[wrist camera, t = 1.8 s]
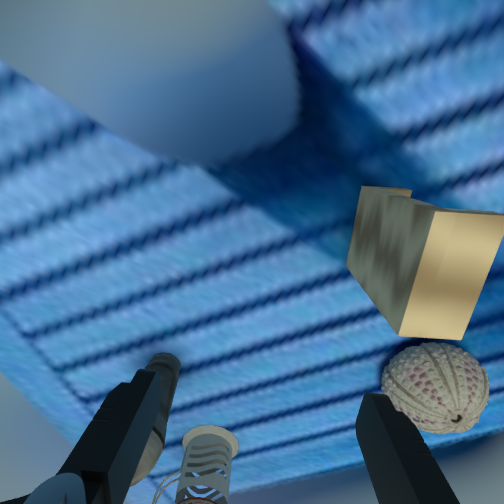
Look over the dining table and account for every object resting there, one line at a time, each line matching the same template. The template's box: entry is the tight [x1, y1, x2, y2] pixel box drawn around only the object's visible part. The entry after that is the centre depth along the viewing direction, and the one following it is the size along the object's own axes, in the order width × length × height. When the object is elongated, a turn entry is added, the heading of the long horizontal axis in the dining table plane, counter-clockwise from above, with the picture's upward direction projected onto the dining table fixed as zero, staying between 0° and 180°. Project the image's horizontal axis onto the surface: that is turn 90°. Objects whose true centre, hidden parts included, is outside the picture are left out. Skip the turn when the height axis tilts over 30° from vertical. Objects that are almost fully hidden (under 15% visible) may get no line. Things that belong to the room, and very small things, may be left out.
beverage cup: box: [130, 353, 180, 486], centre depth 32 cm, size 7×7×20 cm
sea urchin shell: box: [381, 342, 490, 435], centre depth 37 cm, size 13×14×8 cm
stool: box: [346, 186, 504, 340], centre depth 26 cm, size 10×5×14 cm, turn 177°
